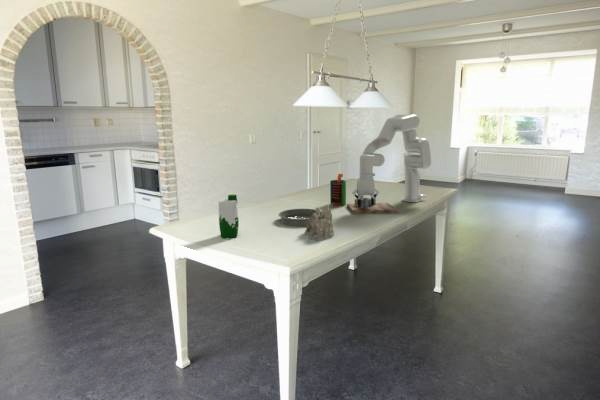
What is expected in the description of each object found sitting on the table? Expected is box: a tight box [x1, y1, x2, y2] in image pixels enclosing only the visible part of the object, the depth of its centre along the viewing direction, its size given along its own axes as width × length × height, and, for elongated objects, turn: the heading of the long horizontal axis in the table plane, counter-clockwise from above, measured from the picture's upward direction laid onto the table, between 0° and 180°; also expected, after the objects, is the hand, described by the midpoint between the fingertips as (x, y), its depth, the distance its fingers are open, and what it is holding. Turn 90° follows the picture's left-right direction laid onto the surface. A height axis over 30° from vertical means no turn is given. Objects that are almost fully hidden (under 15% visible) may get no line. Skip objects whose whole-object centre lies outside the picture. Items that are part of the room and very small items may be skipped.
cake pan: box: [278, 208, 322, 227], centre depth 225 cm, size 25×25×4 cm
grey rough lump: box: [304, 204, 335, 242], centre depth 196 cm, size 16×16×15 cm
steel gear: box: [360, 197, 372, 208], centre depth 244 cm, size 7×7×4 cm
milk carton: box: [218, 194, 239, 239], centre depth 196 cm, size 9×9×20 cm
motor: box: [329, 173, 347, 207], centre depth 264 cm, size 10×9×20 cm
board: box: [346, 193, 398, 215], centre depth 249 cm, size 26×20×8 cm
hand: (365, 205), depth 244 cm, fingers open, 7 cm apart
